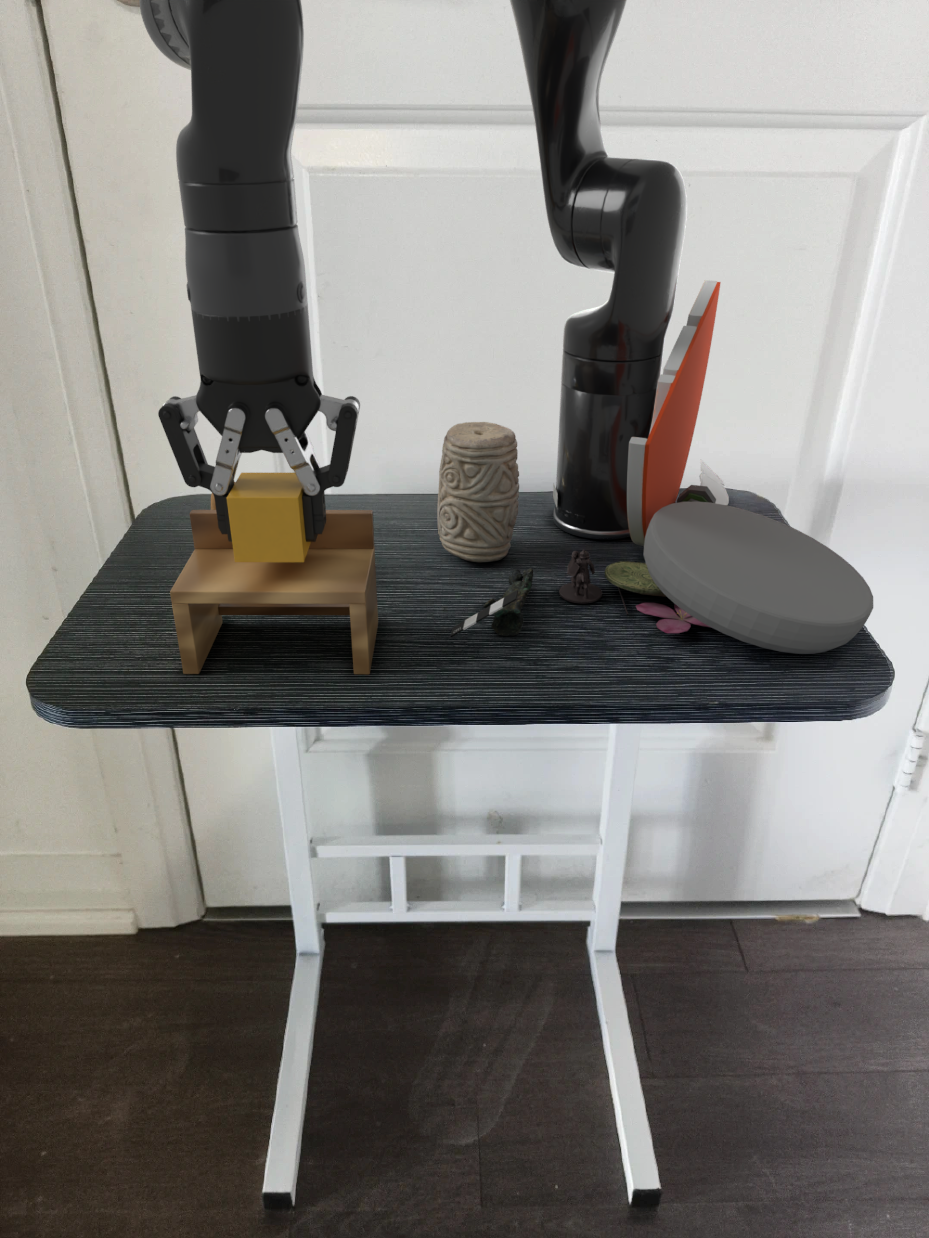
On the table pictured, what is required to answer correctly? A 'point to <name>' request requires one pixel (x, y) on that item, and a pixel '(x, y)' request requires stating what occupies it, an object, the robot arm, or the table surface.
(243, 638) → the table surface
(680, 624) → the flower
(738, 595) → the decorative stone
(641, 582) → the medallion
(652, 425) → the wall plaque
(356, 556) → the bench
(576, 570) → the figurine
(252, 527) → the block
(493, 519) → the carving
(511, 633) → the figurine
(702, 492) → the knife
